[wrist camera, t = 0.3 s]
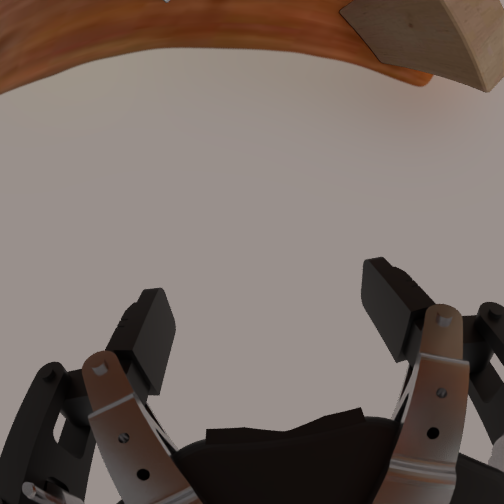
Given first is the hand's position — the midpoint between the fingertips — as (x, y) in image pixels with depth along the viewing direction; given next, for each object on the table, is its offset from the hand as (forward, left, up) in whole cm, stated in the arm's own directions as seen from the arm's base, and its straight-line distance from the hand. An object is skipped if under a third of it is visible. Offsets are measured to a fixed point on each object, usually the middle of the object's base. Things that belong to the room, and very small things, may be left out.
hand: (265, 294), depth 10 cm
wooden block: (+6, +27, -30) cm, 40 cm away
